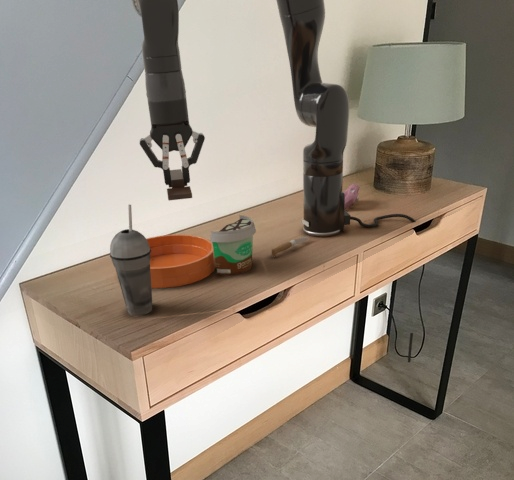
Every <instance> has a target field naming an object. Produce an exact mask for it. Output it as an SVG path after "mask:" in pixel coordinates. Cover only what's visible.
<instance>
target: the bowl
mask: <svg viewBox="0 0 514 480" xmlns="http://www.w3.org/2000/svg"><path fill="white" fill-rule="evenodd" d="M146 239H147V241H148V243H149V247H150V249H151V253H150V254H151V262H150V272H151V288H152V289H167V288H175V287H180V286H181V287H182V286H186V285H191V284H193V283H196V282H199V281H201V280H204V279H205V278H207V277H209V276H210V275H211V274H212V273H214V272H215V271H216V263H215V256H214V250H213V243H212V242H210V239H207V238H205V237H202V236H198V235H194V234H165V235H158V236H152V237H146Z"/></svg>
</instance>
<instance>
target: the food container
mask: <svg viewBox="0 0 514 480" xmlns="http://www.w3.org/2000/svg"><path fill="white" fill-rule="evenodd" d="M256 233H257V229H256V225H255V223H254V221H253V219H252V218H251V217H250V216H247V215H242V214H239V219H238V220H236V221H235V222H233V223H232V222H231V223H228V224H226V225H225V226H224V227H223V228H220V230H219V231H215V230H210V238H209V240H210V242H212V243H213V250H214V256H215V263H216V268H215V270H216V275H217V276H227V277H228V276H229V277H231V276H237V275H238V276H239V275H242V274H245V273H248V272H249V271H250V270H251V269H252V268H253V246H254V244H253V242H254V241H253V239H254V235H255V234H256Z"/></svg>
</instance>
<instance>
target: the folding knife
mask: <svg viewBox="0 0 514 480" xmlns="http://www.w3.org/2000/svg"><path fill="white" fill-rule="evenodd" d="M309 238H310V235H307V236H303V237H300V238H299V237H298V238H295V239H291V240H290V241H287V242H284V243H282V244H279V245H278V246H276V247H274V248H272V249H271V258H275V257H276V256H277V255H278V254H279V253H282V252H284V251H287V250H288V249H290V248H292V247H294V246H296V245H299V244H302V243H305V242H306V241H308V239H309Z"/></svg>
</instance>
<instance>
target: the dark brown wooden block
mask: <svg viewBox="0 0 514 480" xmlns="http://www.w3.org/2000/svg"><path fill="white" fill-rule="evenodd" d="M170 174H171V184H172V187H171V188H169V187H168V188H166V195H167V200H168V201H177V200H187V199H193V192H192V189H191V186H189V185H187V186H184V178H183V175H182V168H178V169H170Z"/></svg>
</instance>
